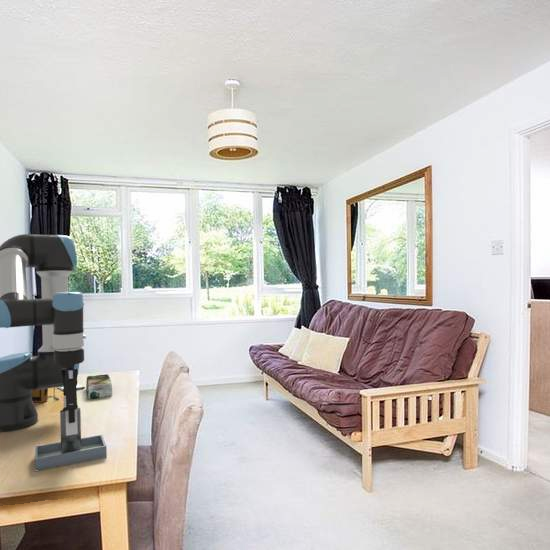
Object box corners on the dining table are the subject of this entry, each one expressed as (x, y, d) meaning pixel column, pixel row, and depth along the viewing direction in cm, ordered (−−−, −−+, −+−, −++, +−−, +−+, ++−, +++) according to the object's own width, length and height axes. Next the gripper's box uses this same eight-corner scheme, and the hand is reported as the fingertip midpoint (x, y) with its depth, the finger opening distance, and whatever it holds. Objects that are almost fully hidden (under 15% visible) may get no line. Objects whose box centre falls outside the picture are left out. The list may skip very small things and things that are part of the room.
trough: (35, 457, 119) (35, 446, 119) (102, 444, 127) (102, 434, 127) (35, 471, 110) (34, 459, 110) (106, 457, 118) (106, 445, 118)
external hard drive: (65, 393, 189) (56, 388, 198) (85, 390, 195) (75, 385, 204) (65, 390, 189) (56, 385, 198) (85, 386, 195) (75, 381, 204)
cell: (60, 453, 120) (59, 405, 120) (80, 449, 122) (79, 402, 122) (61, 459, 115) (60, 410, 115) (82, 455, 118) (81, 407, 118)
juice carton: (114, 396, 181) (113, 381, 181) (88, 400, 176) (87, 385, 177) (109, 386, 199) (109, 373, 199) (86, 390, 195) (85, 376, 195)
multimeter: (67, 396, 182) (66, 348, 183) (52, 403, 173) (51, 352, 173) (34, 396, 184) (33, 348, 184) (17, 402, 174) (16, 352, 174)
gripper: (87, 354, 110) (89, 438, 110) (80, 341, 132) (81, 411, 132) (54, 357, 106) (56, 444, 106) (52, 343, 128) (54, 415, 128)
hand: (70, 426), depth 119 cm, fingers open, 13 cm apart
